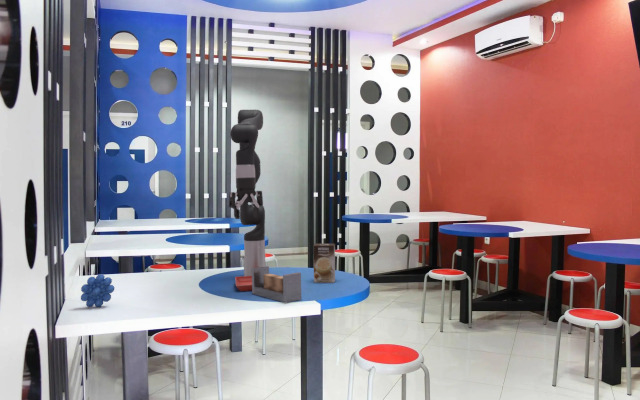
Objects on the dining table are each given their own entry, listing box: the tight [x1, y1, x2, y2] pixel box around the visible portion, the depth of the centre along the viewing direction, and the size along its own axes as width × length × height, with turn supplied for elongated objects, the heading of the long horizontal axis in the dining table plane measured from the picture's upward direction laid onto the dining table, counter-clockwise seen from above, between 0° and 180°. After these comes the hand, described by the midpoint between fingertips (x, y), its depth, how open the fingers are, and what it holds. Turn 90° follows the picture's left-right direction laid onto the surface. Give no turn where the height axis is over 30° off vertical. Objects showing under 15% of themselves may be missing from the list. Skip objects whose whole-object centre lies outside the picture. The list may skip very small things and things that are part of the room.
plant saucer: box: [234, 275, 252, 292], centre depth 224 cm, size 18×18×3 cm
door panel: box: [263, 273, 283, 292], centre depth 204 cm, size 12×3×8 cm, turn 41°
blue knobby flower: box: [80, 273, 115, 308], centre depth 195 cm, size 12×7×12 cm, turn 100°
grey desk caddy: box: [251, 265, 302, 304], centre depth 204 cm, size 22×7×10 cm, turn 41°
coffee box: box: [313, 243, 336, 284], centre depth 231 cm, size 9×6×16 cm
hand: (246, 218), depth 210 cm, fingers open, 8 cm apart
